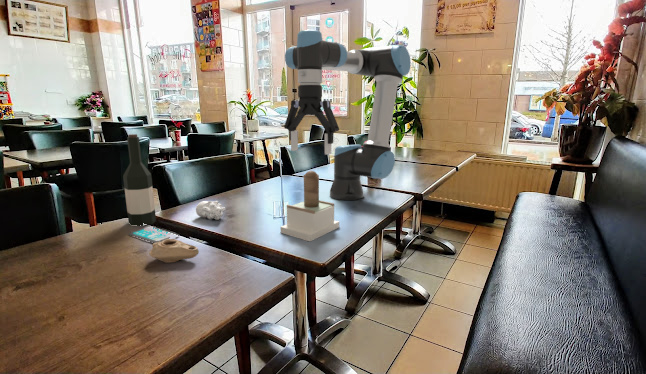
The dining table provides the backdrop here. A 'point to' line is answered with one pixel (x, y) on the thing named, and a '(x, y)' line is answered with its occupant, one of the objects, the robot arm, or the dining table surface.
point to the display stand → (310, 220)
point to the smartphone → (151, 235)
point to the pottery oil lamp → (173, 250)
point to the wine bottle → (138, 187)
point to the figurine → (210, 210)
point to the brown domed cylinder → (311, 189)
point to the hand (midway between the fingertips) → (310, 152)
